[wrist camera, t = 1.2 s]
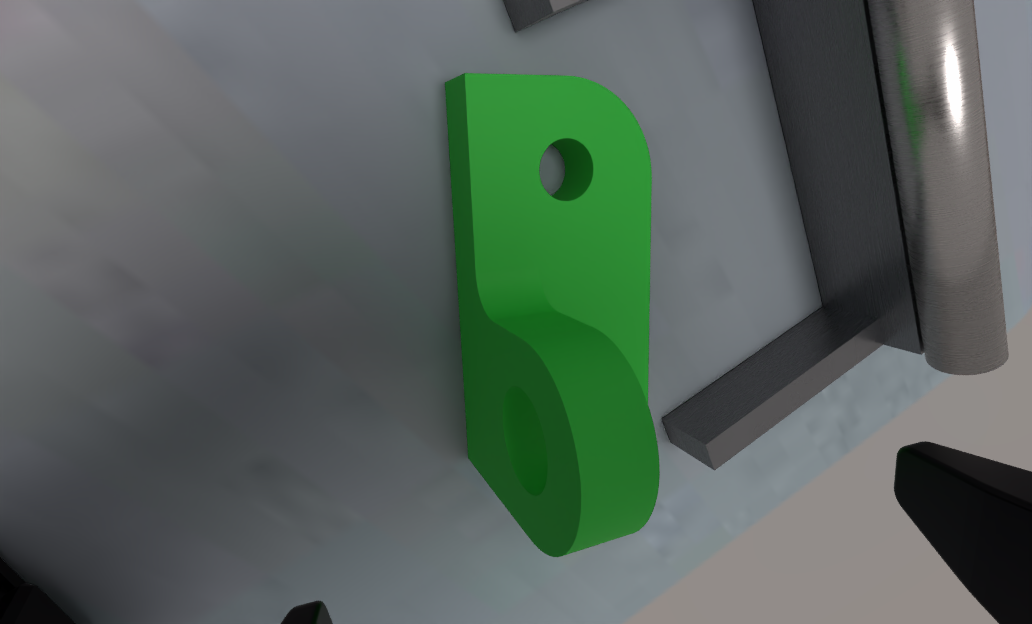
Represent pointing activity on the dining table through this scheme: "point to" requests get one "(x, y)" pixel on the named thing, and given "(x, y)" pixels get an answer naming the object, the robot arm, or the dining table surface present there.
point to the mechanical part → (554, 304)
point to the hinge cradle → (866, 204)
